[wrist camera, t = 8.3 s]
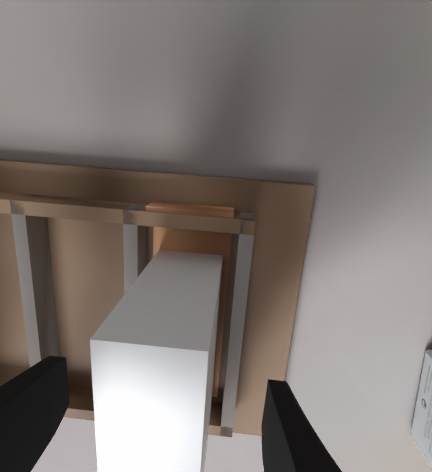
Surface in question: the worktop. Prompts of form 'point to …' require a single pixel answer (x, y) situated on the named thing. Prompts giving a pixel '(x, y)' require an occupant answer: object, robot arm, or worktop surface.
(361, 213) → the worktop surface
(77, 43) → the worktop surface
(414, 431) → the small box
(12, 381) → the robot arm
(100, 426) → the blanking panel
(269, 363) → the slot rack
